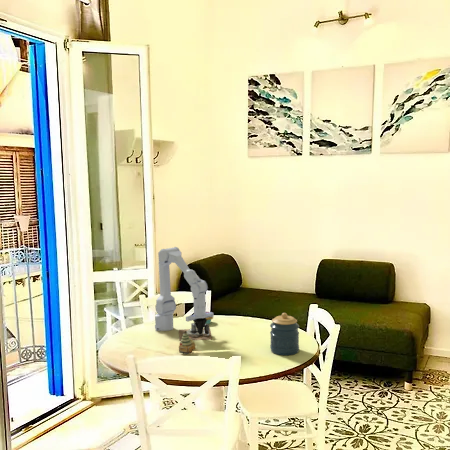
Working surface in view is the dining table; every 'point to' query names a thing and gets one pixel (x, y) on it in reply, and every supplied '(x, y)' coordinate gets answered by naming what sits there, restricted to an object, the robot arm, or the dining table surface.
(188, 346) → the topped waffle
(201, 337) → the board
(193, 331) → the post
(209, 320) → the cupcake
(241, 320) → the dining table surface
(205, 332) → the flange
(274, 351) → the canister
